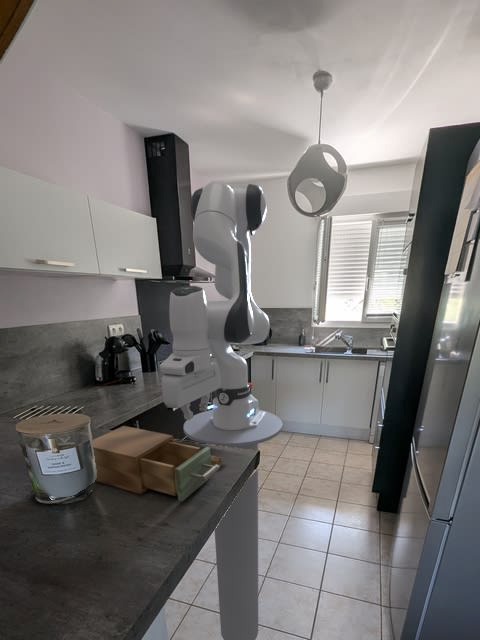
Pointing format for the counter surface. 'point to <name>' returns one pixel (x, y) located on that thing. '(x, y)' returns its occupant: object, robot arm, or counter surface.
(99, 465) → the cabinet
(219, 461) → the yellowish brown block
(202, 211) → the robot arm
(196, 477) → the drawer
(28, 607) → the counter surface
